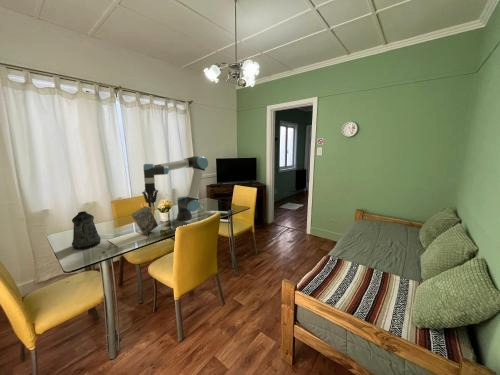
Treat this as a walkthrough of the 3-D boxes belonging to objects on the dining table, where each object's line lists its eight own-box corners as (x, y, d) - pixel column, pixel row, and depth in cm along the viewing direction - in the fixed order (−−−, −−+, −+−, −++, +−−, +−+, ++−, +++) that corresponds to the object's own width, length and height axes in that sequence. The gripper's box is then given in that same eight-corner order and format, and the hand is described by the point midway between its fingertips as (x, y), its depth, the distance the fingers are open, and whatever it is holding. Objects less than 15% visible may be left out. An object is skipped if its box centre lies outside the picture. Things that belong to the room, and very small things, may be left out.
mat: (137, 232, 176) (137, 231, 176) (149, 237, 165) (149, 237, 165) (107, 240, 159) (107, 240, 159) (119, 247, 147) (118, 246, 147)
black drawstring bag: (97, 238, 163) (93, 207, 159) (105, 245, 151) (101, 212, 147) (69, 245, 150) (64, 212, 146) (76, 253, 138) (71, 217, 134)
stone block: (146, 235, 169) (135, 215, 160) (141, 234, 173) (130, 214, 164) (159, 225, 179) (149, 206, 170) (154, 224, 182) (144, 205, 173)
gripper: (154, 181, 178) (156, 208, 182) (139, 183, 168) (141, 211, 171) (159, 182, 174) (161, 209, 177) (144, 183, 163) (146, 213, 167)
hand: (151, 210), depth 174 cm, fingers closed
